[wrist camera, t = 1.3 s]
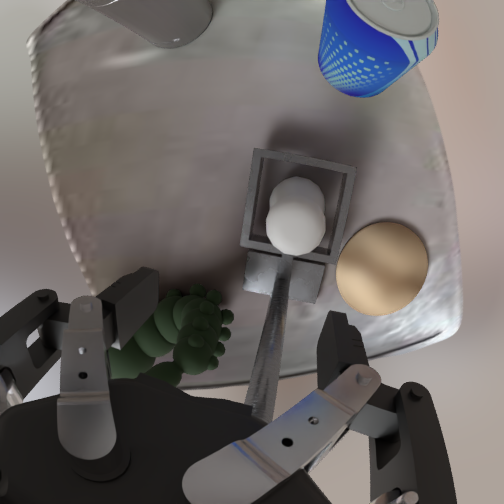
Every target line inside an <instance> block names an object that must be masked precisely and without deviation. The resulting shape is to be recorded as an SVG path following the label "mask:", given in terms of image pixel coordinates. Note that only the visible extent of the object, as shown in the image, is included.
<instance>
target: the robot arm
mask: <svg viewBox="0 0 504 504" xmlns="http://www.w3.org/2000/svg"><path fill="white" fill-rule="evenodd" d="M76 1H78V2H80V3H82V4H84V5H86V6H88V7H90V8H92V9H94V10H96V11H98V12H100V13H102V14H104V15H105V16H107V17H109V18H111V19H113V20H114V21H116V22H118V23H120V24H121V25H123V26H125V27H126V28H128V29H130V30H131V31H133V32H135V33H136V34H138V35H139V36H141V37H143V38H144V39H146V40H147V41H149V42H150V43H152V44H154V45H156V46H158V47H161V48H175V47H179V46H182V45H185V44H187V43H189V42H191V41H193V40H194V39H195V38H197V37H198V36H199V35H200V34H201V33H202V32H203V31H204V30H205V29H206V28H207V26H208V25H209V22H210V20H211V17H212V7H211V4H210V3H209V1H208V0H76ZM158 299H159V272H158V271H157V270H155V269H151V268H147V267H141V268H140V269H139V270H137V271H136V272H135V273H133V274H132V273H131V274H128V275H125V276H123V277H121V278H120V279H118V280H117V281H116V282H114V283H113V284H112V285H111V286H109V287H108V288H106V289H105V290H104V291H103V292H101V293H100V294H99V295H97V296H96V297H94V296H81V297H78V298H76V299H74V300H73V301H72V302H71V304H68V303H62V302H58V297H57V294H56V292H55V291H53V290H50V289H42V290H38V291H36V292H34V293H32V294H31V295H30V296H28V297H27V298H26V299H24V300H23V301H22V302H20V303H19V304H17V305H16V306H14V307H13V308H12V309H10V310H9V311H8V312H7V313H5V314H4V315H3V316H1V317H0V504H332V503H331V502H330V501H329V500H328V498H327V497H326V496H325V495H324V493H323V492H322V491H321V490H320V489H319V487H318V486H317V485H316V483H315V482H314V481H313V480H312V478H311V477H310V476H309V473H310V472H311V471H312V470H313V469H314V468H315V467H316V466H317V465H318V464H319V462H320V461H321V460H322V459H323V458H324V457H325V456H326V455H327V454H328V453H329V452H330V451H331V450H332V449H333V448H334V447H335V446H336V445H337V444H338V443H339V442H340V441H341V440H342V439H343V437H344V436H345V435H346V434H347V433H348V432H349V431H350V430H353V431H356V432H359V433H361V434H364V435H367V436H369V451H370V480H371V481H370V484H371V485H370V486H371V487H370V501H371V502H370V503H369V504H457V499H456V493H455V488H454V482H453V477H452V472H451V467H450V463H449V458H448V454H447V450H446V446H445V442H444V438H443V434H442V431H441V427H440V424H439V420H438V417H437V414H436V410H435V407H434V404H433V401H432V398H431V395H430V393H429V391H428V390H427V389H426V388H425V387H424V386H423V385H420V384H418V383H416V382H406V383H404V384H403V385H402V386H401V388H400V389H396V388H393V387H390V386H387V385H384V384H382V383H381V377H380V375H379V374H378V372H376V371H375V370H374V369H373V368H371V367H369V364H368V360H367V356H366V352H365V348H364V344H363V342H362V337H361V333H360V332H359V331H358V330H357V328H356V327H355V326H352V325H349V324H348V320H347V316H346V313H341V312H336V311H331V310H330V311H329V312H328V315H327V317H326V320H325V323H324V326H323V329H322V332H321V334H320V337H319V340H318V345H317V375H318V388H317V389H315V390H314V391H313V392H311V393H310V394H309V395H308V396H307V397H305V398H304V399H302V400H301V401H300V402H299V403H297V404H296V405H295V406H293V407H292V408H291V409H289V410H288V411H286V412H285V413H284V414H282V415H281V416H280V417H278V418H277V419H275V420H274V421H272V422H271V423H270V424H268V423H266V422H265V421H264V420H262V419H260V418H258V417H257V416H254V415H252V409H253V406H251V405H246V404H242V403H238V402H233V401H230V400H225V399H216V398H204V397H194V396H190V395H188V394H187V393H185V392H183V391H181V390H180V389H178V388H176V387H174V386H173V385H171V384H169V383H168V382H166V381H163V380H160V379H157V378H155V377H152V376H149V375H147V374H144V373H141V372H140V373H139V375H138V376H137V378H136V379H130V378H117V379H112V372H111V365H110V358H109V351H108V349H109V348H110V347H111V346H112V347H114V348H117V349H119V350H121V349H122V348H123V346H124V345H125V344H126V343H127V342H128V341H129V340H130V338H131V337H132V336H133V335H134V334H135V333H136V332H137V330H138V329H139V328H140V327H141V326H142V325H143V324H144V323H145V321H146V320H147V319H148V318H149V317H150V316H151V315H152V314H153V312H154V311H155V310H156V308H157V305H158ZM36 329H38V333H39V336H40V337H39V338H38V339H37V340H36V341H35V342H34V343H33V344H32V345H31V346H30V347H28V348H27V345H26V341H27V338H28V336H29V335H30V334H31V333H32V332H33V331H34V330H36ZM60 357H61V371H60V373H61V374H60V394H58V395H54V396H50V397H46V398H42V399H38V400H34V401H30V402H25V403H23V399H24V398H25V397H26V396H27V395H28V393H29V392H30V391H31V390H32V389H33V388H34V387H35V385H36V384H37V383H38V382H39V380H41V378H42V377H43V376H44V375H45V374H46V373H47V372H48V371H49V369H50V368H51V367H52V366H53V365H54V364H55V363H56V362H57V361H58V360H59V359H60Z"/></svg>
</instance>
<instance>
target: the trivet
mask: <svg viewBox="0 0 504 504" xmlns="http://www.w3.org/2000/svg"><path fill="white" fill-rule="evenodd" d="M427 268H428V260H427V254H426V250H425V247H424V245H423V243H422V241H421V240H420V239H419V237H418V236H417V235H416V234H415V233H414V232H413V231H411V230H410V229H408V228H407V227H405V226H403V225H400V224H397V223H392V222H381V223H375V224H372V225H369V226H367V227H365V228H363V229H361V230H360V231H358V232H357V233H356V234H354V235H353V236H352V237H351V238H350V239H349V241H348V242H347V243H346V244H345V246H344V248H343V249H342V251H341V253H340V255H339V259H338V262H337V267H336V280H337V285H338V288H339V291H340V294H341V295H342V297H343V299H344V300H345V301H346V303H347V304H348V305H349V306H350V307H352V308H353V309H354V310H356V311H358V312H360V313H363V314H366V315H373V316H381V315H387V314H391V313H394V312H396V311H398V310H400V309H402V308H403V307H405V306H406V305H408V304H409V303H410V302H411V301H412V300H413V299H414V298H415V297H416V296H417V294H418V293H419V291H420V290H421V288H422V286H423V284H424V281H425V278H426V275H427Z"/></svg>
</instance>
